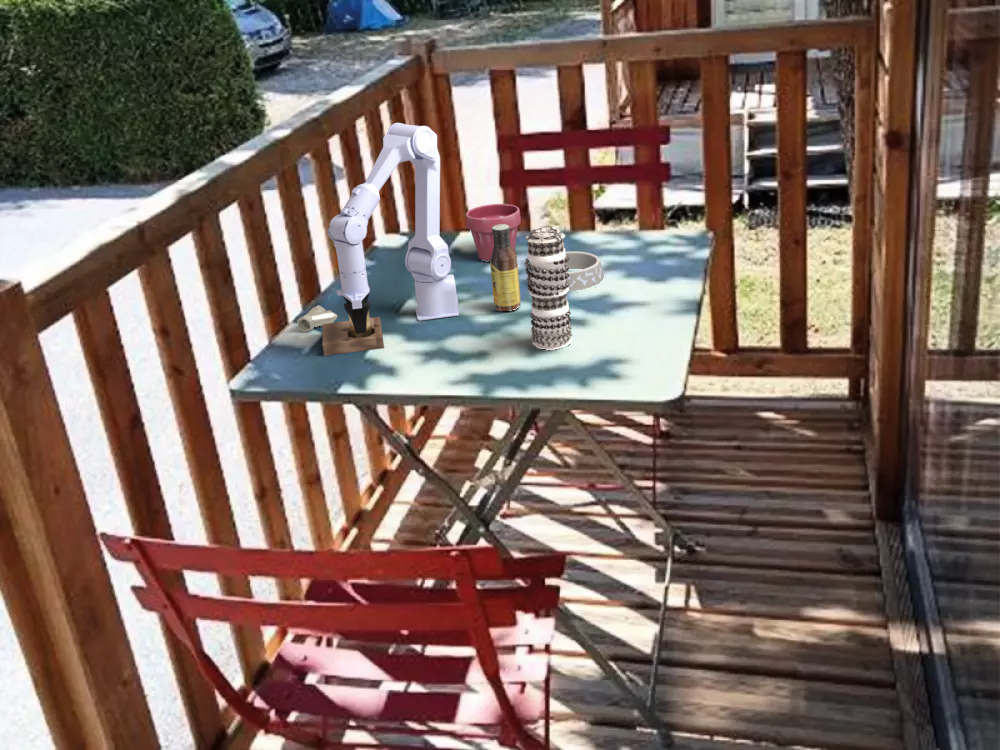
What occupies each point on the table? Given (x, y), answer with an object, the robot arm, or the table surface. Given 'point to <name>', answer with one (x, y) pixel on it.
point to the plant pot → (491, 225)
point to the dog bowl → (583, 270)
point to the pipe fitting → (315, 319)
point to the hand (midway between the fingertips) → (360, 328)
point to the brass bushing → (367, 334)
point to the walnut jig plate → (350, 338)
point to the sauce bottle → (504, 270)
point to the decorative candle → (548, 288)
